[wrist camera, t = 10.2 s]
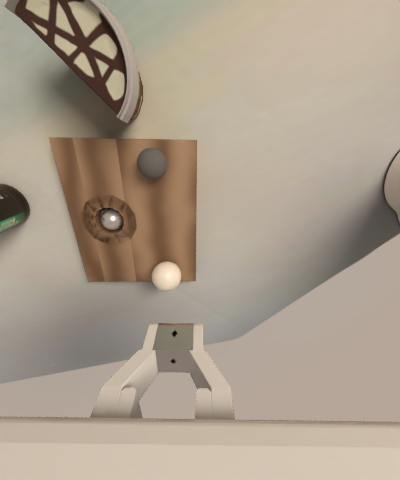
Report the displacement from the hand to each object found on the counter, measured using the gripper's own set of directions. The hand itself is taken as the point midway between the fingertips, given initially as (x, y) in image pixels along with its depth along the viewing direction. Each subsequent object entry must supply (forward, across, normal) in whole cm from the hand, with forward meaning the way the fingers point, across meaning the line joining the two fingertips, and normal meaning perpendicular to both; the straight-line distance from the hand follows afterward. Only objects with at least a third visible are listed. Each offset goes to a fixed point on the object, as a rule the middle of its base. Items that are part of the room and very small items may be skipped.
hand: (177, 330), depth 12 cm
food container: (+26, +9, -18) cm, 33 cm away
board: (+26, +10, +2) cm, 27 cm away
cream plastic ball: (+20, +4, +12) cm, 24 cm away
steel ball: (+24, +13, +2) cm, 27 cm away
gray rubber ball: (+21, +5, -6) cm, 23 cm away
